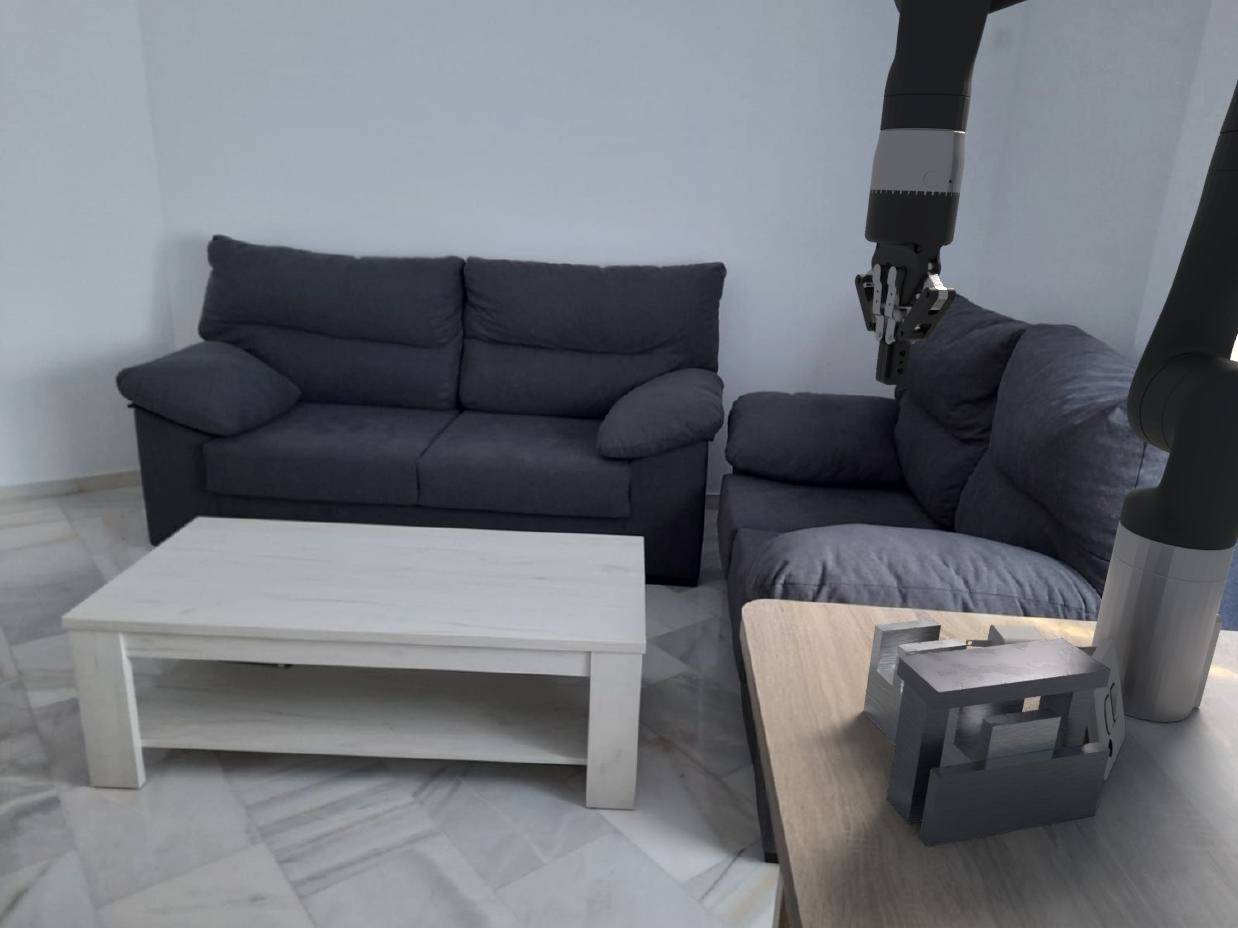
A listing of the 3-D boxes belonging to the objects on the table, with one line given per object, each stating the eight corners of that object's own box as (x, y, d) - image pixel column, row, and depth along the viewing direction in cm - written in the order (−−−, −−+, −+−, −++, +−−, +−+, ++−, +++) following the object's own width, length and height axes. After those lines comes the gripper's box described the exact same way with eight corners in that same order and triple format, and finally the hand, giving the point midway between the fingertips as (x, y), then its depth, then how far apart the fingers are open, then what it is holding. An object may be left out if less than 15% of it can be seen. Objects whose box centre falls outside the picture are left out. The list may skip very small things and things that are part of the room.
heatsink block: (919, 704, 83) (933, 618, 80) (1039, 816, 68) (1060, 716, 66) (863, 712, 81) (875, 624, 79) (973, 829, 67) (992, 726, 64)
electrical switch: (1104, 788, 72) (1115, 684, 70) (1036, 767, 75) (1045, 667, 73) (1125, 737, 79) (1136, 642, 77) (1063, 720, 82) (1071, 628, 80)
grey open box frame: (1036, 764, 74) (1062, 637, 71) (1094, 815, 68) (1126, 679, 65) (879, 789, 70) (899, 657, 67) (927, 846, 64) (951, 703, 61)
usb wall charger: (1042, 678, 88) (1049, 642, 87) (973, 675, 88) (979, 639, 87) (1025, 658, 92) (1032, 623, 91) (959, 655, 92) (965, 620, 91)
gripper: (1002, 190, 71) (969, 398, 76) (909, 188, 83) (886, 368, 89) (921, 186, 69) (893, 400, 74) (838, 185, 81) (818, 369, 87)
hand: (889, 383), depth 81 cm, fingers closed
